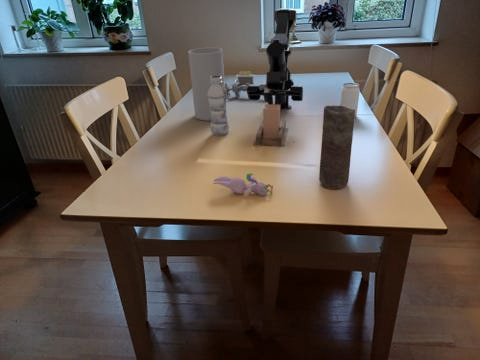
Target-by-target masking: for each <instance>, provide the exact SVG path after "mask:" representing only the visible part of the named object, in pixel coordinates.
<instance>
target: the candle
mask: <svg viewBox="0 0 480 360" xmlns="http://www.w3.org/2000/svg"><path fill="white" fill-rule="evenodd" d="M355 119H356V117H355V110H354V109H349V108H346V107H344V106H340V105H326V106H324V108H323V118H322V132H321V133H322V134H321V145H320V146H321V148H320V159H319V174H318V177H319V178H318V180H319V183H320V184H321V185H322V187H324V189H328V190H329V189H330V190H338V189H341V188H343V187H344V186H347V185H348V184H349V180H350V179H349V177H350V168H351V167H350V166H351V159H352V158H351V155H352V148H353V147H352V144H353V138H354V137H353V136H354V129H355Z"/></svg>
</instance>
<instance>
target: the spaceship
mask: <svg viewBox="0 0 480 360" xmlns="http://www.w3.org/2000/svg"><path fill="white" fill-rule="evenodd" d="M224 83H225V89H226V92H227V96H231V93H230V91H231V92H233V93H234V95H235V97H236V98H240V96H241V91H242V92H247V87H248V86H249V85H250V84H249V83H247V84H240V83H239V81H238V79H235V81H234V83H233V85H232V86H229V84H230V83H229V82H224ZM258 85H259V88H260V90H264V89H265V88H267V87H266V83H261V84H258Z"/></svg>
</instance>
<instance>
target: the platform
mask: <svg viewBox="0 0 480 360" xmlns="http://www.w3.org/2000/svg"><path fill="white" fill-rule="evenodd" d="M235 77H236V78H237V80H238V81H239V83H240V85H246V84H247V83H249V85H254V78H255V77H256V74H254V73H252V72H251V71H245V70H244V71H239V73H237V74H236V75H235Z"/></svg>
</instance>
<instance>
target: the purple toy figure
mask: <svg viewBox="0 0 480 360" xmlns="http://www.w3.org/2000/svg"><path fill="white" fill-rule="evenodd" d="M253 175H254V174H253V173H251V172H250V173H247V174H246V176H245V179H246V181H247V182H250V183H249V184H246V181H245V180H244V179H243V178H242V177H237V176H236V177H231V176H230V177H229V176H224V175H222V176H218V177H216V178H215V179H213V182H212V184H213V185H221V186H223V187H226V188H229V189H230V190H231V191H232V192H234V193H237V194H239V195H241V194H243V193H244V192H245V190H247V192H248V193H249V194H251V195H254V194H255V193H256V195H257V194H258V195H259V196H261V197H264V196H266V194H267V193H268V192H269V195H270V197H272V195H273V188H274V185H271V184H265V183H263V182H262V181H258V180H257V179H256V178H255V177H253ZM268 188H271V189H268Z"/></svg>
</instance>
